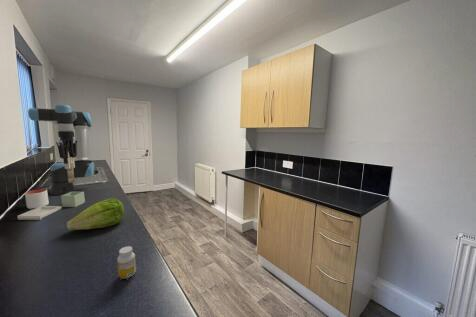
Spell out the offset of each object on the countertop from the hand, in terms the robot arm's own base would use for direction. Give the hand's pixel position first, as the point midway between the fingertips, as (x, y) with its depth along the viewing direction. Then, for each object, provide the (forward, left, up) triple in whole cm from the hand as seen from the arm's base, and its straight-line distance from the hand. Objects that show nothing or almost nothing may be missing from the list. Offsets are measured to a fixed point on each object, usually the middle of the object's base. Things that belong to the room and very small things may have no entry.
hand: (70, 168), depth 128 cm
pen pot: (0, 0, -25) cm, 25 cm away
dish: (+14, -8, -25) cm, 30 cm away
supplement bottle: (+63, +67, -25) cm, 95 cm away
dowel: (0, 0, -9) cm, 9 cm away
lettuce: (+28, +34, -25) cm, 51 cm away
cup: (+2, -21, -25) cm, 33 cm away
